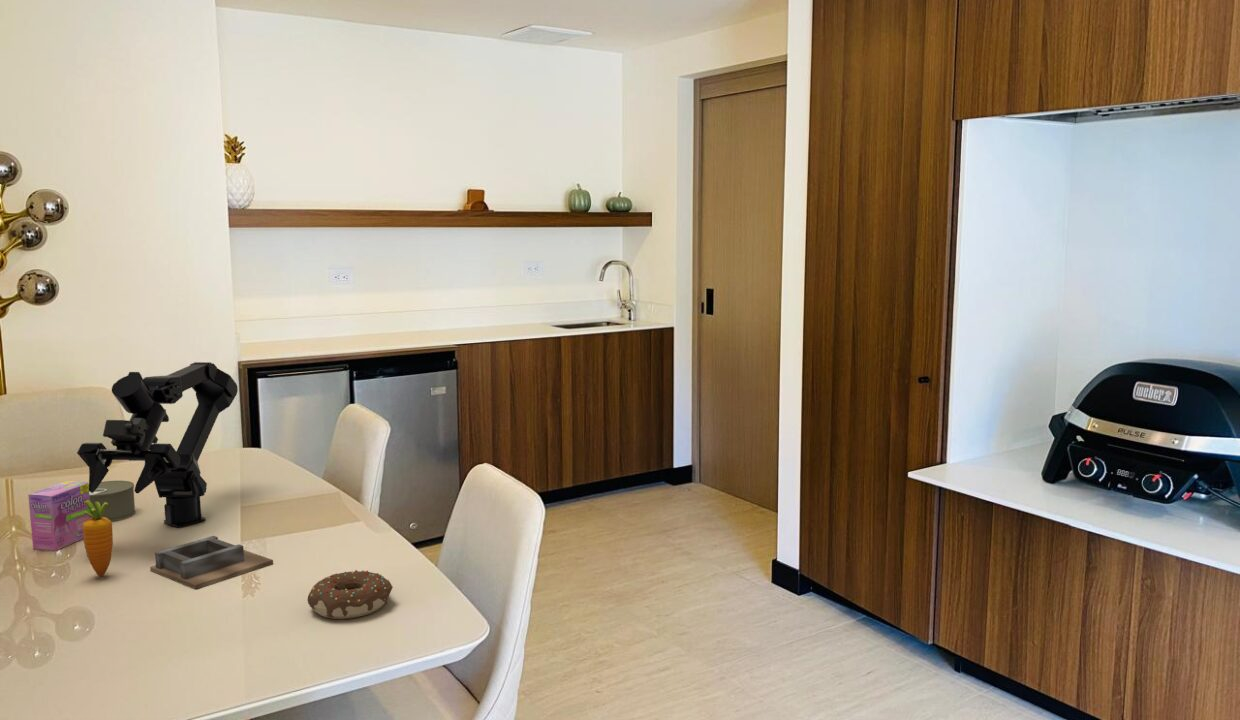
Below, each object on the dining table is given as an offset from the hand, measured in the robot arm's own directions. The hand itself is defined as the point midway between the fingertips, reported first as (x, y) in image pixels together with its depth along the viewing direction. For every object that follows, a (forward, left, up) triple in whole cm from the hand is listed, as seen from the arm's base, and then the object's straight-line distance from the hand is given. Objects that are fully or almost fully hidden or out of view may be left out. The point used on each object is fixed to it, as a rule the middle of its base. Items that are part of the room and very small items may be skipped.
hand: (113, 491), depth 183 cm
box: (+1, -22, -14) cm, 26 cm away
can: (-13, -33, -15) cm, 38 cm away
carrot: (+6, +5, -14) cm, 17 cm away
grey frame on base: (-9, +18, -14) cm, 25 cm away
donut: (-13, +55, -15) cm, 59 cm away
